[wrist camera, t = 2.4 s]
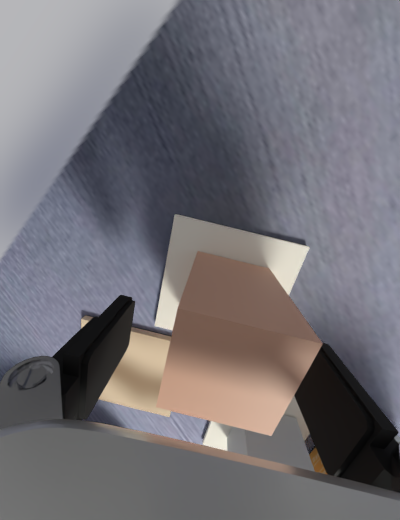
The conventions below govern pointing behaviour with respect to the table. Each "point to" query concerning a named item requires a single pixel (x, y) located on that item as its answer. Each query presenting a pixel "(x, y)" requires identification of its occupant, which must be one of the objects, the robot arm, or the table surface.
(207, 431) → the tile
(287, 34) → the table surface
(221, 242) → the white square slab
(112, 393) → the cork mat
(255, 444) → the grey block
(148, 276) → the table surface
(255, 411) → the terracotta block
